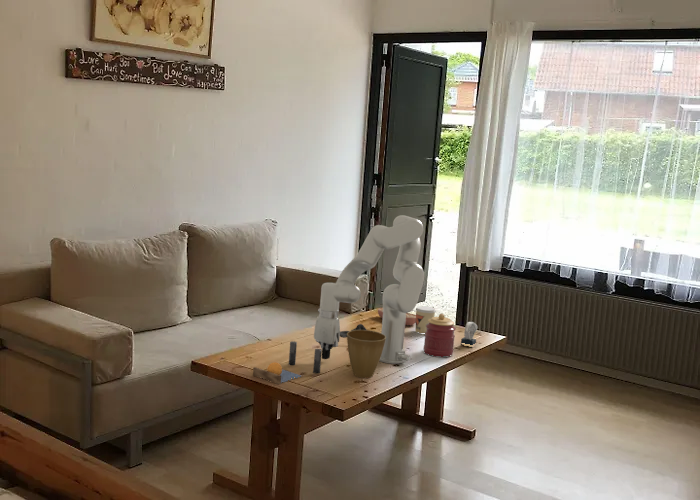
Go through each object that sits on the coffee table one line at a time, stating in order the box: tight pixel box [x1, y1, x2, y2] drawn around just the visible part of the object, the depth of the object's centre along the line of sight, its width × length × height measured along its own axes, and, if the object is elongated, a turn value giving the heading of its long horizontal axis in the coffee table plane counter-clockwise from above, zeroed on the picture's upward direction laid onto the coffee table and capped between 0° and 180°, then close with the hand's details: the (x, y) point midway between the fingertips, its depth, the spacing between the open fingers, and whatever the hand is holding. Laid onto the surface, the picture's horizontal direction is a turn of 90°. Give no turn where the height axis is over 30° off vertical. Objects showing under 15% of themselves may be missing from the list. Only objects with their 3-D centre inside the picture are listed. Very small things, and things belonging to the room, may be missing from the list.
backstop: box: [252, 366, 282, 385], centre depth 278 cm, size 13×1×3 cm, turn 53°
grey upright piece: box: [460, 321, 478, 345], centre depth 347 cm, size 6×8×11 cm
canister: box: [423, 313, 456, 358], centre depth 330 cm, size 13×13×18 cm
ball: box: [266, 361, 283, 375], centre depth 282 cm, size 6×6×6 cm
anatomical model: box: [377, 307, 416, 326], centre depth 381 cm, size 23×10×5 cm, turn 50°
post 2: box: [312, 348, 322, 374], centre depth 291 cm, size 3×3×9 cm
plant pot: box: [346, 329, 386, 379], centre depth 291 cm, size 15×15×16 cm
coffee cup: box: [415, 305, 436, 333], centre depth 364 cm, size 9×9×12 cm
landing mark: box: [280, 368, 302, 384], centre depth 284 cm, size 12×12×1 cm
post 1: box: [288, 340, 298, 366], centre depth 298 cm, size 3×3×9 cm
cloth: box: [340, 323, 367, 339], centre depth 349 cm, size 22×19×6 cm
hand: (325, 358), depth 305 cm, fingers closed
